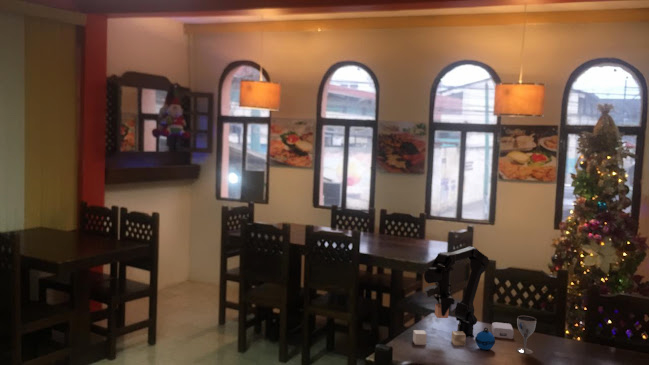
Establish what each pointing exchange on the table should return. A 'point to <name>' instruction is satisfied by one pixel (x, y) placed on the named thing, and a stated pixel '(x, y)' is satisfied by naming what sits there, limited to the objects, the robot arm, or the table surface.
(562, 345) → the table surface
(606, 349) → the table surface
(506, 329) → the charger
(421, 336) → the grey block
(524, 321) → the wine glass
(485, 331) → the ornament
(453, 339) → the birch block
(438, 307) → the terracotta block
